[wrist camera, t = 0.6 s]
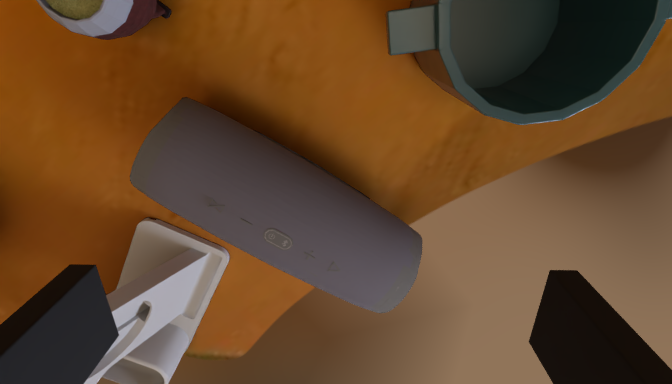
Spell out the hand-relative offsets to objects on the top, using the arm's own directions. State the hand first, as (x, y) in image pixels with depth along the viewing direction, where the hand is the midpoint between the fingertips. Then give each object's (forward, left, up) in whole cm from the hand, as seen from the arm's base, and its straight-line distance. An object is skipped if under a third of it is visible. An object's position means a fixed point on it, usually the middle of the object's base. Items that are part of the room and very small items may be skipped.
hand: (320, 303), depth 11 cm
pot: (-7, +13, -24) cm, 28 cm away
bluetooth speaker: (+6, -5, -25) cm, 26 cm away
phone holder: (+17, -22, -25) cm, 37 cm away
